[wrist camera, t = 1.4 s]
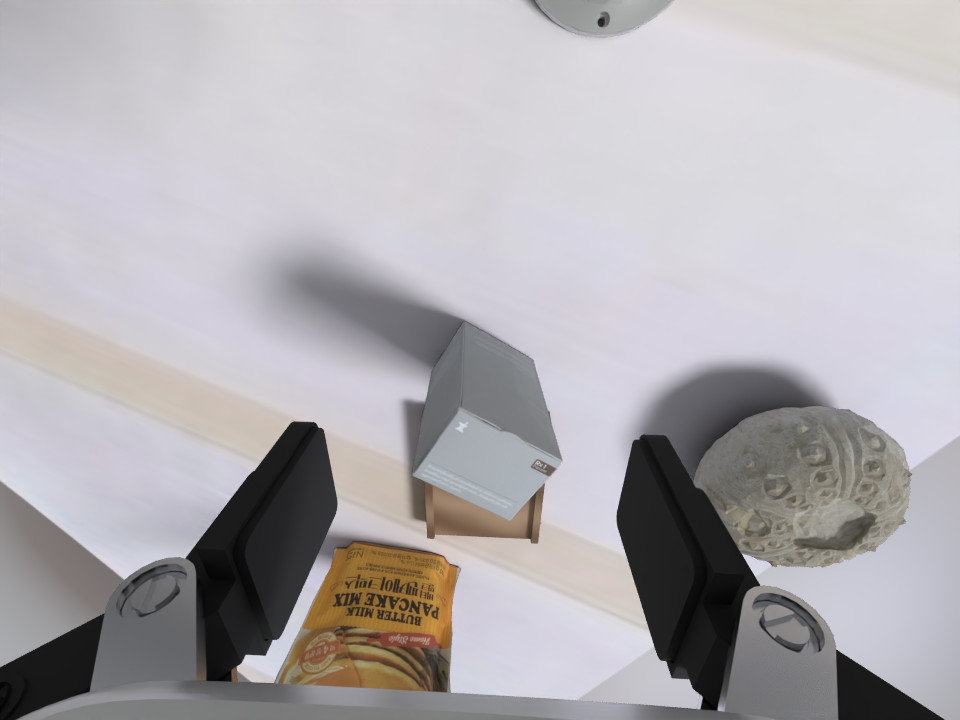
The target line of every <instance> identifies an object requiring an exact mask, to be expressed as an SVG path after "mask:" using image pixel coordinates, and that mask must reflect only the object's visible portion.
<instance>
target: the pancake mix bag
mask: <svg viewBox="0 0 960 720" xmlns="http://www.w3.org/2000/svg"><path fill="white" fill-rule="evenodd" d="M460 570H461V568H459V567H456V566H453V565H450V564H449V563H448V562H447V560H446V559H445V557H443V556H440V555H437V554H433V553H428V552H422V551H417V550H411V549H405V548H398V547H390V546H384V545H379V544H373V543H367V542H354V541H353V542H352V543H351V544H350V545H349V546H348V547H347V548H337V549H334V554H333V559H332V565H331V568H330V570H329V572H328V574H327V575H326V577H325V579H324V581H323V583H322V585H321V587H320V589H319V591H318V593H317V595H316V596H315V598H314V600H313V602H312V604H311V607H310V609H309V611H308V614H307V616H306V618H305V620H304V622H303V624H302V627H301V629H300V631H299V633H298V635H297V636H296V638H295V640H294V642H293V644H292V646H291V648H290V651H289V653H288V655H287V657H286V659H285V661H284V663H283V665H282V667H281V669H280V671H279V672H278V674H277V677H276V680H275V682H274V683H277V684H296V685H316V686H335V687H354V688H374V689H392V690H410V691H427V692H445V693H450V661H451V644H452V621H451V618H452V603H453V595H454V590H455V585H456V582H457V579H458V576H459V573H460Z"/></svg>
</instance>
